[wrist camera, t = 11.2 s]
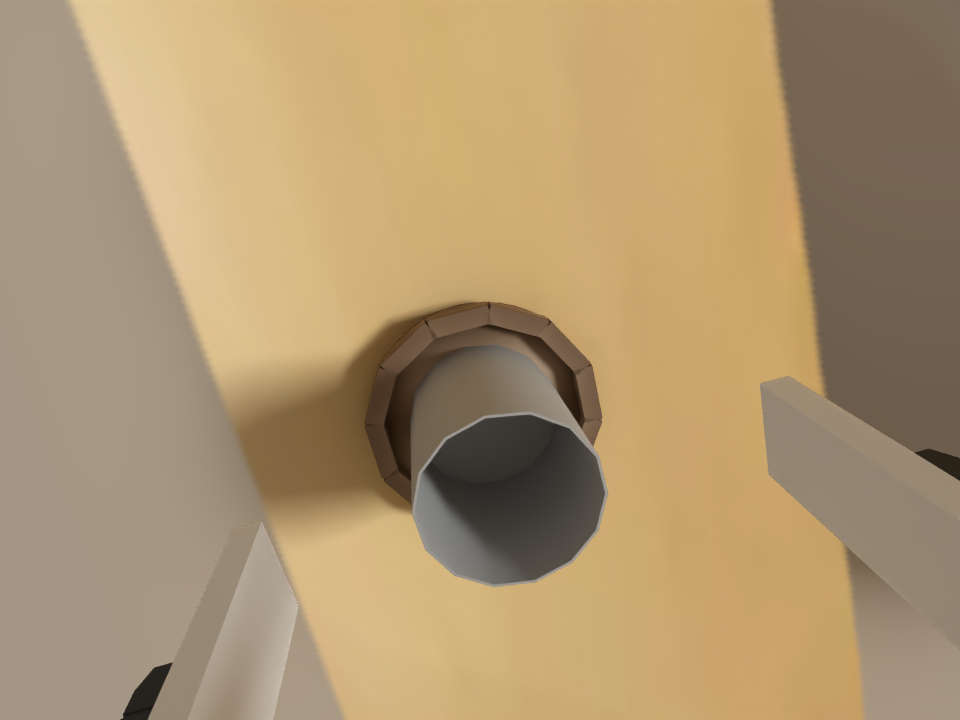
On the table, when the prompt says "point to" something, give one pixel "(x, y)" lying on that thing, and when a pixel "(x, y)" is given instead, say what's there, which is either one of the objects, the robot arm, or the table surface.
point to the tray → (451, 334)
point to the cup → (500, 469)
